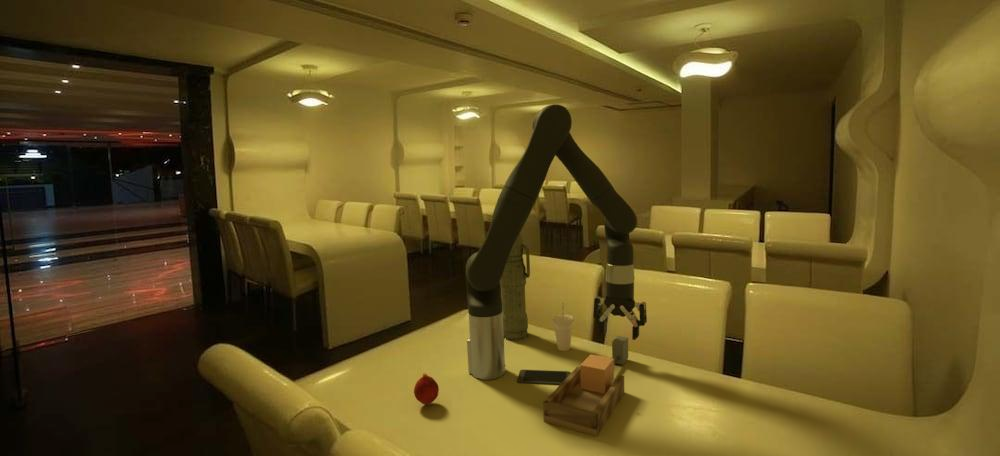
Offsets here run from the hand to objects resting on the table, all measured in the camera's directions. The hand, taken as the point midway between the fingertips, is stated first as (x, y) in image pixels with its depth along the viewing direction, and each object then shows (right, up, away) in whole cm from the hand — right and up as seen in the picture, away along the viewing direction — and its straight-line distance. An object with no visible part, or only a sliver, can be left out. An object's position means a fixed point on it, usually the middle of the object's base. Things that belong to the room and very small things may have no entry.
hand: (619, 336), depth 127 cm
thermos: (-28, -6, +25) cm, 38 cm away
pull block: (-5, -8, -8) cm, 12 cm away
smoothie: (-14, -7, +12) cm, 20 cm away
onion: (-51, -13, -18) cm, 55 cm away
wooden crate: (-13, -11, -22) cm, 28 cm away
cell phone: (-21, -10, -6) cm, 24 cm away
